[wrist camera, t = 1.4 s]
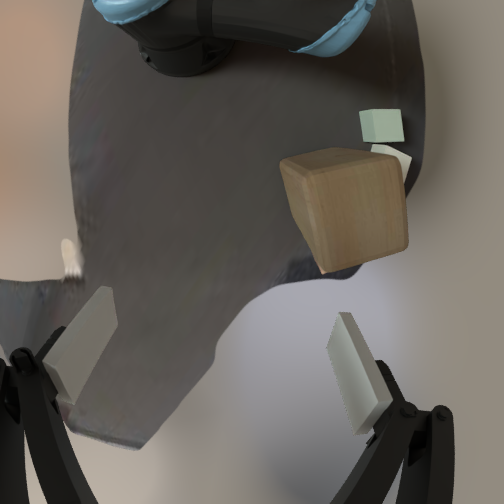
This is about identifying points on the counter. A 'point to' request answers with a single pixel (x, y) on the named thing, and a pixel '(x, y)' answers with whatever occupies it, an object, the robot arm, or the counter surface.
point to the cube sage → (381, 125)
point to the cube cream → (401, 156)
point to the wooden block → (347, 204)
